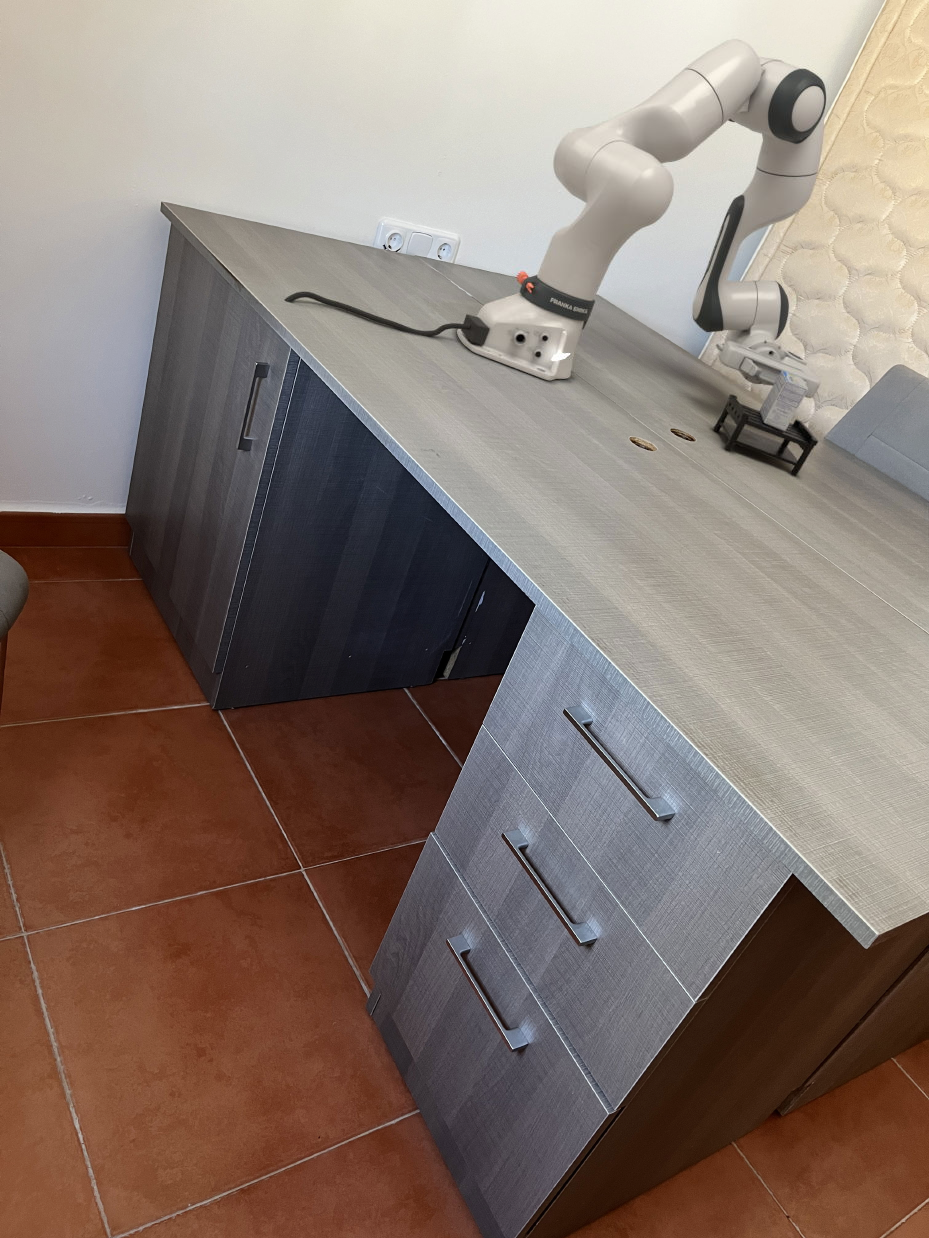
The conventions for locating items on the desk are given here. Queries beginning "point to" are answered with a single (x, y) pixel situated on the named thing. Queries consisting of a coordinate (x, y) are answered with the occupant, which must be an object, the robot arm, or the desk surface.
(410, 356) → the desk surface
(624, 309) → the desk surface
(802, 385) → the medicine box
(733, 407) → the rack
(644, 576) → the desk surface
